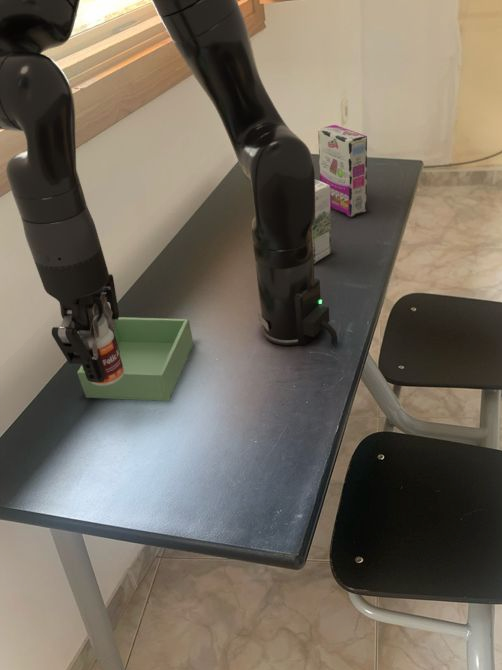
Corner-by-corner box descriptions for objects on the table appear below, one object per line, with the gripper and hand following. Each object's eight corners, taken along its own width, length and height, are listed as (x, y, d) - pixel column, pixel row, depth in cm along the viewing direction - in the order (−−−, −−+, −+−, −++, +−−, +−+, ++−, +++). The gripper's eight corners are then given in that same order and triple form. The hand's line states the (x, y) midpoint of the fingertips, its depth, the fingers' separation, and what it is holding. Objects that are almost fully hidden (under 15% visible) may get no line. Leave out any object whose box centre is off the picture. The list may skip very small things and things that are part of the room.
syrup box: (310, 246, 136) (306, 176, 126) (332, 254, 133) (330, 183, 124) (292, 257, 133) (286, 186, 123) (314, 265, 130) (310, 193, 120)
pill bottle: (116, 388, 85) (98, 334, 80) (82, 385, 86) (62, 331, 81) (130, 366, 89) (115, 313, 83) (98, 363, 90) (80, 310, 84)
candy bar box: (368, 211, 147) (368, 135, 136) (350, 218, 145) (349, 141, 134) (336, 196, 154) (334, 123, 143) (319, 202, 152) (316, 128, 141)
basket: (193, 343, 112) (188, 318, 108) (168, 400, 101) (162, 375, 97) (118, 341, 113) (111, 317, 110) (86, 397, 102) (76, 372, 99)
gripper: (73, 280, 70) (113, 404, 81) (119, 220, 80) (149, 337, 91) (6, 279, 70) (55, 401, 82) (60, 220, 81) (97, 336, 92)
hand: (104, 367), depth 87 cm, fingers closed on pill bottle, 4 cm apart
